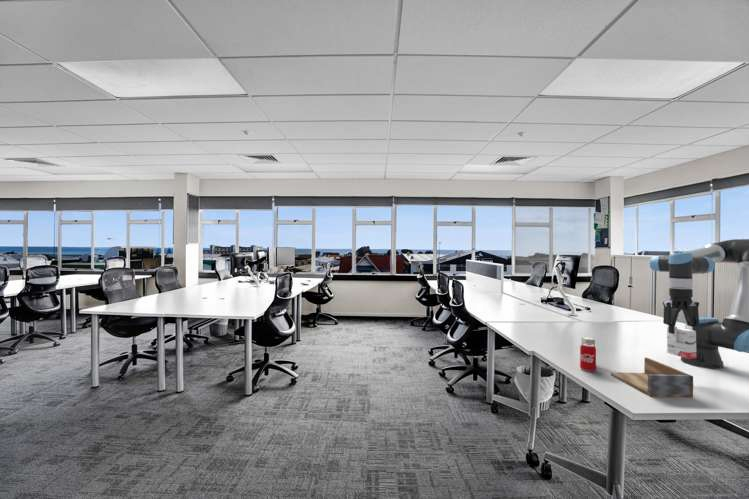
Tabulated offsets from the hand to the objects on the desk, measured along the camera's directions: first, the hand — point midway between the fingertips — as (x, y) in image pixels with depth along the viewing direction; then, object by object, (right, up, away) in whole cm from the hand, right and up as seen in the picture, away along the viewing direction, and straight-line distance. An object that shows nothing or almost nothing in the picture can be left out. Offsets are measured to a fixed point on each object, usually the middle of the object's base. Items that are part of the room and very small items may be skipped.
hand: (681, 340), depth 143 cm
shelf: (-20, -17, -7) cm, 27 cm away
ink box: (0, -7, 0) cm, 7 cm away
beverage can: (-34, -17, +11) cm, 39 cm away
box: (-28, -17, +19) cm, 38 cm away
